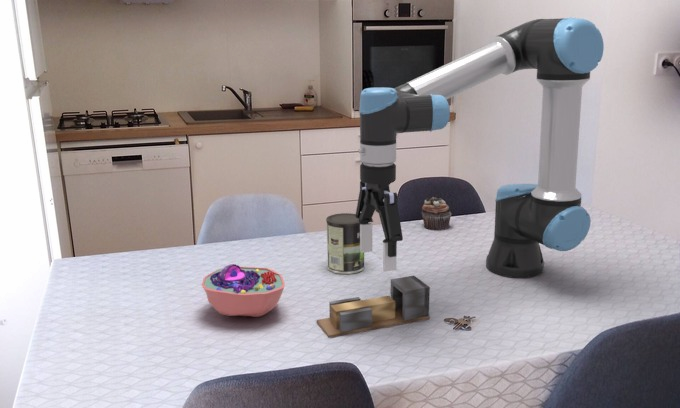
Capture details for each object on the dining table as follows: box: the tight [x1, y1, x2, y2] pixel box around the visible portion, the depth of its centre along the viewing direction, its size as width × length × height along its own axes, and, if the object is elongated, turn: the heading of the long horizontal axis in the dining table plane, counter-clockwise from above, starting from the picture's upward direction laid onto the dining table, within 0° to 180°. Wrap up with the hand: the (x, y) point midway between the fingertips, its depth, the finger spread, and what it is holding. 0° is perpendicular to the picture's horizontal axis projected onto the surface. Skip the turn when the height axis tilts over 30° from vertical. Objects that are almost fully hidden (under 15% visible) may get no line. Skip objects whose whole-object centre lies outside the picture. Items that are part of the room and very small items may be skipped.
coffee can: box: [325, 212, 365, 275], centre depth 173 cm, size 10×10×14 cm
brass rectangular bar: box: [331, 295, 395, 329], centre depth 141 cm, size 14×4×4 cm, turn 111°
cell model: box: [201, 263, 286, 318], centre depth 146 cm, size 17×20×11 cm
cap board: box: [316, 275, 430, 339], centre depth 142 cm, size 24×8×8 cm, turn 111°
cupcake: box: [421, 195, 452, 231], centre depth 208 cm, size 10×10×10 cm
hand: (377, 260), depth 139 cm, fingers open, 12 cm apart
